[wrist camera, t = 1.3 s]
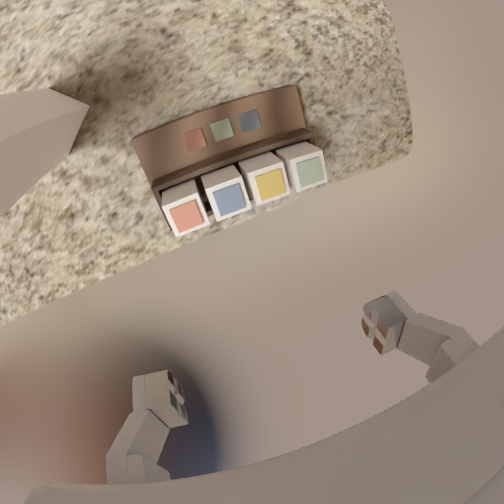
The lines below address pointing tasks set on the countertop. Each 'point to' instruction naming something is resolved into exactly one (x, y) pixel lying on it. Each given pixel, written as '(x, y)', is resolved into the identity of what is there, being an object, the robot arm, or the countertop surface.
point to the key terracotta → (184, 208)
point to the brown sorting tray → (220, 139)
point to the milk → (34, 138)
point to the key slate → (226, 192)
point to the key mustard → (264, 178)
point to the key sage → (303, 165)
